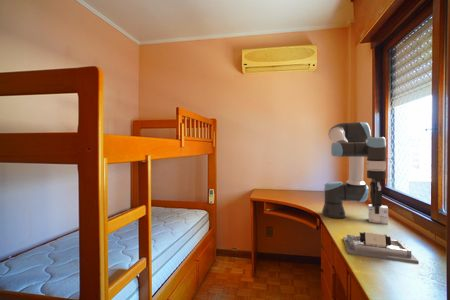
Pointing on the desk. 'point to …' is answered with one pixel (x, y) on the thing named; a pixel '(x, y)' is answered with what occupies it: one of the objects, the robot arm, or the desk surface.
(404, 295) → the desk surface
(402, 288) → the desk surface
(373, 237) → the pneumatic valve
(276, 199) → the desk surface
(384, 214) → the light bulb box
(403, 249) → the shallow rectangular tray
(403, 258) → the mounting board
